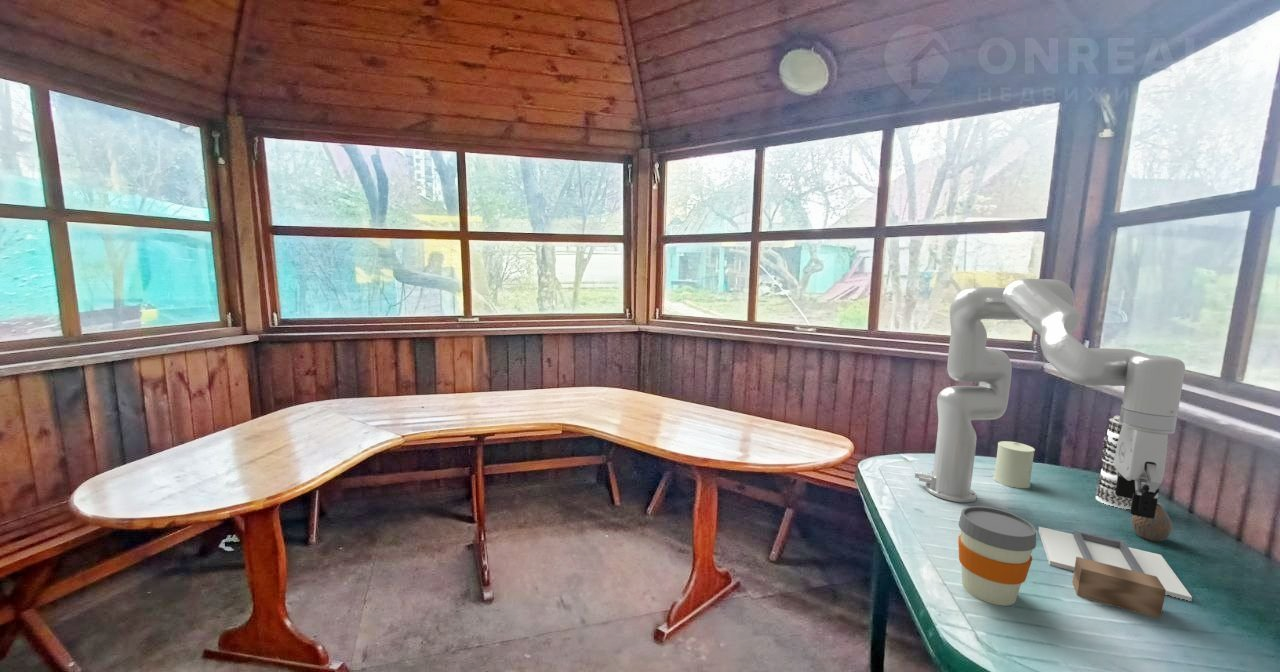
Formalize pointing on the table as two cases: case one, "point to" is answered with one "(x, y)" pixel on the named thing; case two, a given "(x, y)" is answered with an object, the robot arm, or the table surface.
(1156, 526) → the vase
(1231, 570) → the table surface
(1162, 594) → the walnut bar
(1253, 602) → the table surface
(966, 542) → the reusable coffee cup
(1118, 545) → the slot board
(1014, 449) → the can
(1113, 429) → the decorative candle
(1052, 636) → the table surface
